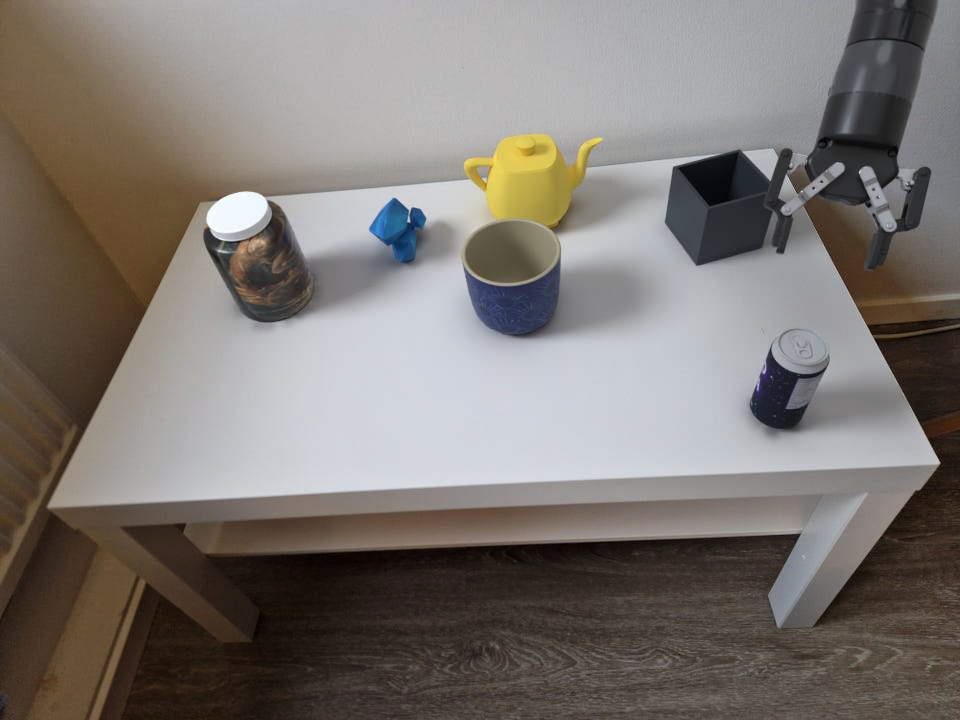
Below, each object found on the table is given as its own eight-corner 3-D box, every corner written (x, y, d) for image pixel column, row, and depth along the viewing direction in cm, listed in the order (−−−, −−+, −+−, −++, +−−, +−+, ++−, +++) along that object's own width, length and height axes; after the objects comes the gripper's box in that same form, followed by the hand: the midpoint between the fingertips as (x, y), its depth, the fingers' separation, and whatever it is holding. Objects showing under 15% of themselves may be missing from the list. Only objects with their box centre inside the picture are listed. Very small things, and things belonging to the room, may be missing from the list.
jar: (220, 306, 97) (173, 226, 85) (273, 256, 103) (235, 175, 91) (280, 332, 92) (238, 252, 81) (331, 278, 98) (300, 196, 86)
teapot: (604, 234, 98) (608, 162, 88) (470, 244, 100) (460, 175, 90) (594, 179, 106) (597, 108, 97) (471, 189, 108) (461, 121, 98)
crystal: (426, 184, 99) (414, 220, 89) (433, 236, 104) (422, 275, 95) (378, 186, 100) (360, 222, 90) (387, 238, 105) (372, 277, 96)
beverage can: (795, 392, 78) (826, 324, 68) (805, 434, 74) (839, 368, 65) (744, 391, 78) (769, 324, 69) (752, 432, 75) (778, 367, 66)
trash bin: (726, 205, 99) (740, 148, 92) (762, 247, 93) (779, 190, 85) (664, 222, 98) (672, 166, 91) (696, 265, 92) (707, 209, 84)
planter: (461, 291, 94) (450, 231, 85) (544, 269, 95) (542, 207, 86) (484, 355, 86) (475, 296, 77) (574, 330, 87) (575, 269, 79)
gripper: (796, 80, 64) (752, 246, 67) (964, 97, 60) (910, 274, 63) (789, 102, 71) (749, 251, 74) (939, 118, 67) (891, 277, 70)
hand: (823, 261), depth 68 cm, fingers open, 8 cm apart
